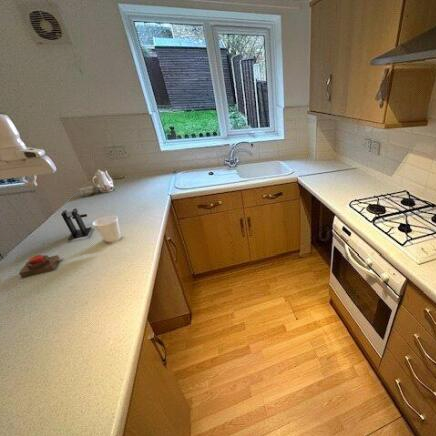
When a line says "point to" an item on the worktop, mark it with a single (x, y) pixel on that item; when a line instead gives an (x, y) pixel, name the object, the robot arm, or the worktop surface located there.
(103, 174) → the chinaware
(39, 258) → the button
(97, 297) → the worktop surface
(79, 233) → the bracket
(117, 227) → the cup
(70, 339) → the worktop surface
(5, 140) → the robot arm
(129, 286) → the worktop surface
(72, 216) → the lever
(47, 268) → the button block
